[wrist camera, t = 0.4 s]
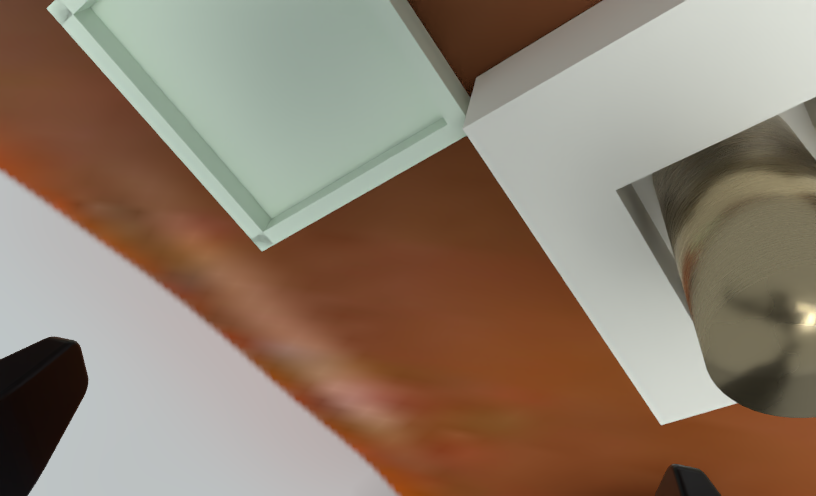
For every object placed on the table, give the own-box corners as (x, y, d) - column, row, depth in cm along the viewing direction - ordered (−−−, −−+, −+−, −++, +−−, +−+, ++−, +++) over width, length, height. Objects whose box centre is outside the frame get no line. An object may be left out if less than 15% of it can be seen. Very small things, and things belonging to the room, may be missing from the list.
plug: (818, 189, 19) (958, 382, 13) (684, 243, 21) (746, 438, 14) (768, 76, 18) (897, 228, 11) (629, 145, 20) (671, 312, 13)
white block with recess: (958, 233, 20) (1038, 315, 17) (645, 343, 24) (661, 425, 21) (829, -138, 16) (903, -125, 12) (476, 77, 20) (462, 128, 17)
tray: (479, 111, 21) (475, 130, 19) (276, 229, 25) (262, 251, 23) (276, -201, 17) (255, -202, 16) (75, -3, 21) (46, 8, 20)
